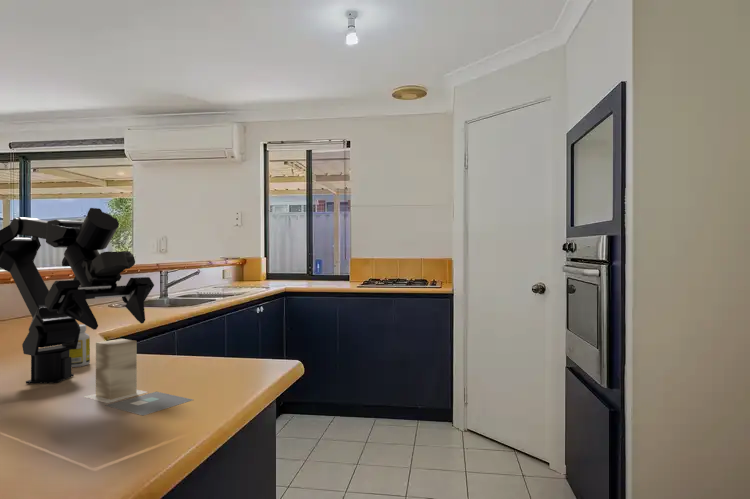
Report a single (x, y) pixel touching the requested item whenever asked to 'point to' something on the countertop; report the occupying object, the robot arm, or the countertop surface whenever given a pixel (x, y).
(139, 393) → the pad
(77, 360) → the supplement bottle
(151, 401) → the gray tile
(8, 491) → the countertop surface
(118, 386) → the birch block
